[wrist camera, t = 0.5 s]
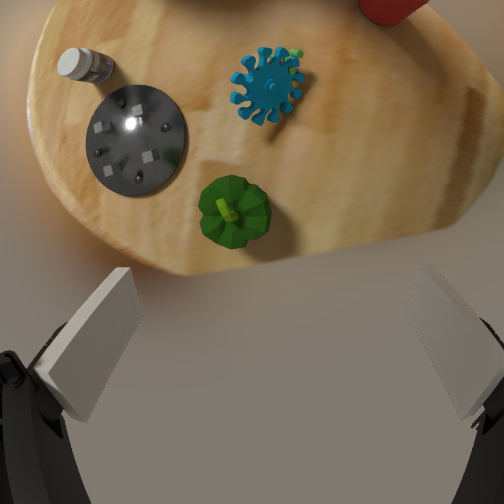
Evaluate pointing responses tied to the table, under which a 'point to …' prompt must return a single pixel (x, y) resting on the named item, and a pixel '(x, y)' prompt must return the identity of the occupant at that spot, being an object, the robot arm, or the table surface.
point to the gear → (268, 83)
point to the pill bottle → (85, 65)
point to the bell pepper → (234, 211)
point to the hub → (135, 140)
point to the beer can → (389, 10)
